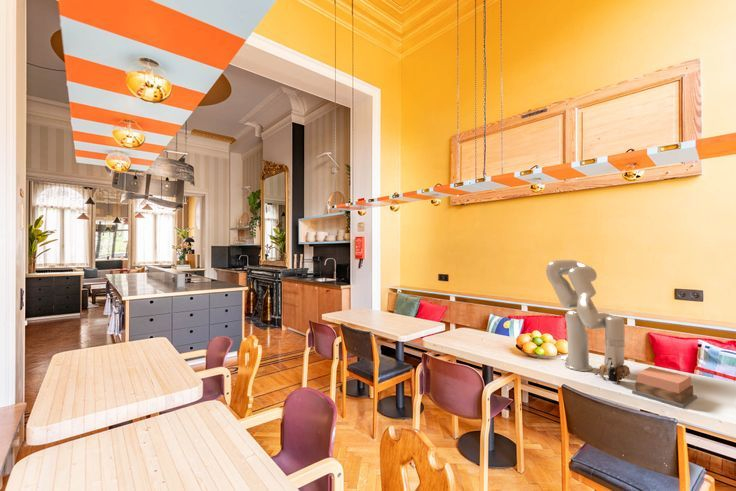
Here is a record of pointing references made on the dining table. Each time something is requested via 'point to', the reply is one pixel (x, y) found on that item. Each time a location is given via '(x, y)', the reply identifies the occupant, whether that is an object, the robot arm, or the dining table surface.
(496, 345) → the dining table surface
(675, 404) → the baseplate
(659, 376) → the top brick
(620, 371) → the lion figurine
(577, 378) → the dining table surface
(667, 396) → the brown flat block
